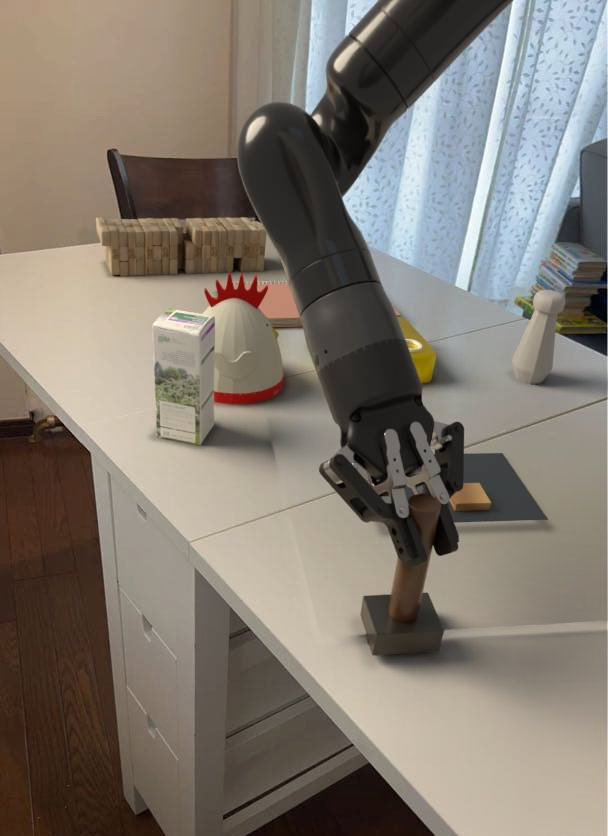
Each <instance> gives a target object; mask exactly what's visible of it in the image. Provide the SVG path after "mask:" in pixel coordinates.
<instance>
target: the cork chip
mask: <svg viewBox="0 0 608 836" xmlns="http://www.w3.org/2000/svg"><path fill="white" fill-rule="evenodd" d="M449 501H450V503H451V505H452V507H453V508H454V510H455V511H472V510H490V506H491V501H490V500H489V498H488V496H487V495H486V493H485V491H484V490H483V488H482V486H481V485H480V483H463V488H462V490H461V491H458V492H456V493H455V494H454V495H453V496H452V497H451V498H450V499H449Z"/></svg>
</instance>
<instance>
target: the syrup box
mask: <svg viewBox="0 0 608 836" xmlns="http://www.w3.org/2000/svg"><path fill="white" fill-rule="evenodd" d="M151 327H152V328H151V334H152V335H151V336H152V354H153V355H152V356H153V377H154V378H153V380H154V381H153V382H154V406H155V407H154V408H155V431H156V433H155V434H156V438H158V439H162V440H168V441H173V442H174V441H175V442H179V443H185V444H190V445H195V446H201V445H202V444H203V442H204V440H205V438H206V437H207V436H208V434H209V433H210V431H212V428H213V427H214V426H215V402H214V363H215V317H214V316H211V315H205V314H203V313H199V312H192V311H187V310H180V309H173V308H168V309H167V310H166V311H164V312H163V313H162V314H161V315H160V316H159V317H158V318H157V319H156V320H155V321H154V323H153V324H152V325H151Z"/></svg>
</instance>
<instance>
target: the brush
mask: <svg viewBox="0 0 608 836" xmlns="http://www.w3.org/2000/svg"><path fill="white" fill-rule="evenodd" d="M408 506H409V515H408V518H410V517H413V518H414V520H415V523H416V526H417V529H418V531H419V534H420V537H421V540H422V543H423V545H424V548H425V551H426V554H427V557H428V560H427V562H426V563H423V564H420V565H417V566H414V567H410V568H409V567H407V566H406V564H405V562H401V560H400V559H399V558H398V557H397V558H396V565H395V569H394V576H393V580H392V586H391V592H390V594H372V595H370V594H369V595H363V596H362V602H361V609H360V614H359V615H360V618H361V622H362V624H363V627H364V630H365V636H366V640H367V644H368V645H369V649H370V652H371V655H372V656H383V655H400V654H401V655H402V654H415V653H416V654H417V653H432V652H440V649H441V645H442V642H443V637H444V634H445V633H444V632H445V629H444V627H443V625H442V622H441V620H440V618H439V615H438V613H437V610H436V608H435V606H434V603H433V601H432V599H431V597H430V594H429V592H424V589H425V584H426V579H427V574H428V570H429V566H430V560H431V556H432V552H433V548H434V547H433V542H434V538H435V533H436V528H437V524H438V519H439V514H440V510H441V503H440V501H439V500H438V499H437V498H435V497H433V496H431V495H427V494H416V495H413V496H411V497H410V498H409V499H408Z"/></svg>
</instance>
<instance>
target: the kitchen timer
mask: <svg viewBox="0 0 608 836" xmlns="http://www.w3.org/2000/svg"><path fill="white" fill-rule="evenodd" d="M257 281H258V275H257V274H255V275H254V277H253V279H252V281H251V282H252V284H251V287H250V289H249V290H246V289H245V285H244V284H245V280H244V276H243V271H240V275H239V279H238V282H239V284H238V288H237V289H234V286H233V282H234V281H233V278H232V273H231V272H227V280H226V283H225V284H226V288H225V289H223V288H222V286H221V285H220V284H221V283H220V281H219V280H218V279H215V289H216V293H217V296H216V297H214V296H212V295H211V293H210V292H209V290H208V289H207V288H206V287H204V290H203V291H204V295H205V298H206V301H207V302H208V305H209V306H208V307H207V308H206V309H205V310H204V311H203V312H202V314H205V315H211V316H214V317H215V363H214V403H219V404H227V405H249V404H253V403H259V402H263V401H266V400H268V399H271V398H273V397H274V396H277V394H279V393H280V392H281V390H282V388H283V386H284V377H285V376H284V375H285V374H284V364H283V357H282V353H281V349H280V348H281V347H280V344H279V340H278V338H279V335H280V334H279V332H278V331H277V330H276V329H275V327H272V325H271V324H270V322H269V320H268V318H267V317H266V316H265V315H264V314H263V312H262V311H261V310H260V309H259V308H258V307H259V305H260V304H261V302H262V300H263V299H264V297H265V295H266V293H267V290H268V285H266V286H265V288H264V289H263V290H262V291H261V292H258V291H257Z"/></svg>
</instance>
